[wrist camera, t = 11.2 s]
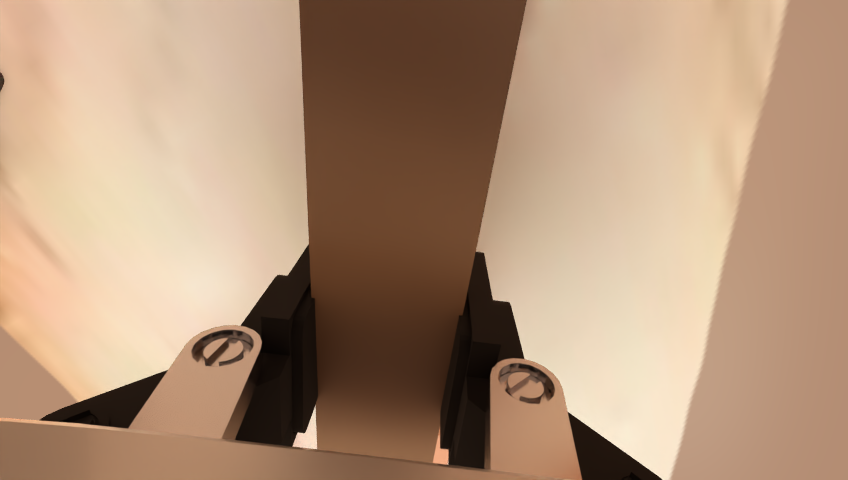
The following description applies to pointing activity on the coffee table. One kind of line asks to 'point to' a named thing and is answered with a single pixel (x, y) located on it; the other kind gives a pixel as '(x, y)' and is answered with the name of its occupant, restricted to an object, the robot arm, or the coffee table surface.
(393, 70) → the stick
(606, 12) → the coffee table surface
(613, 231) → the coffee table surface
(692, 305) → the coffee table surface
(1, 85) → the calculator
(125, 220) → the coffee table surface
